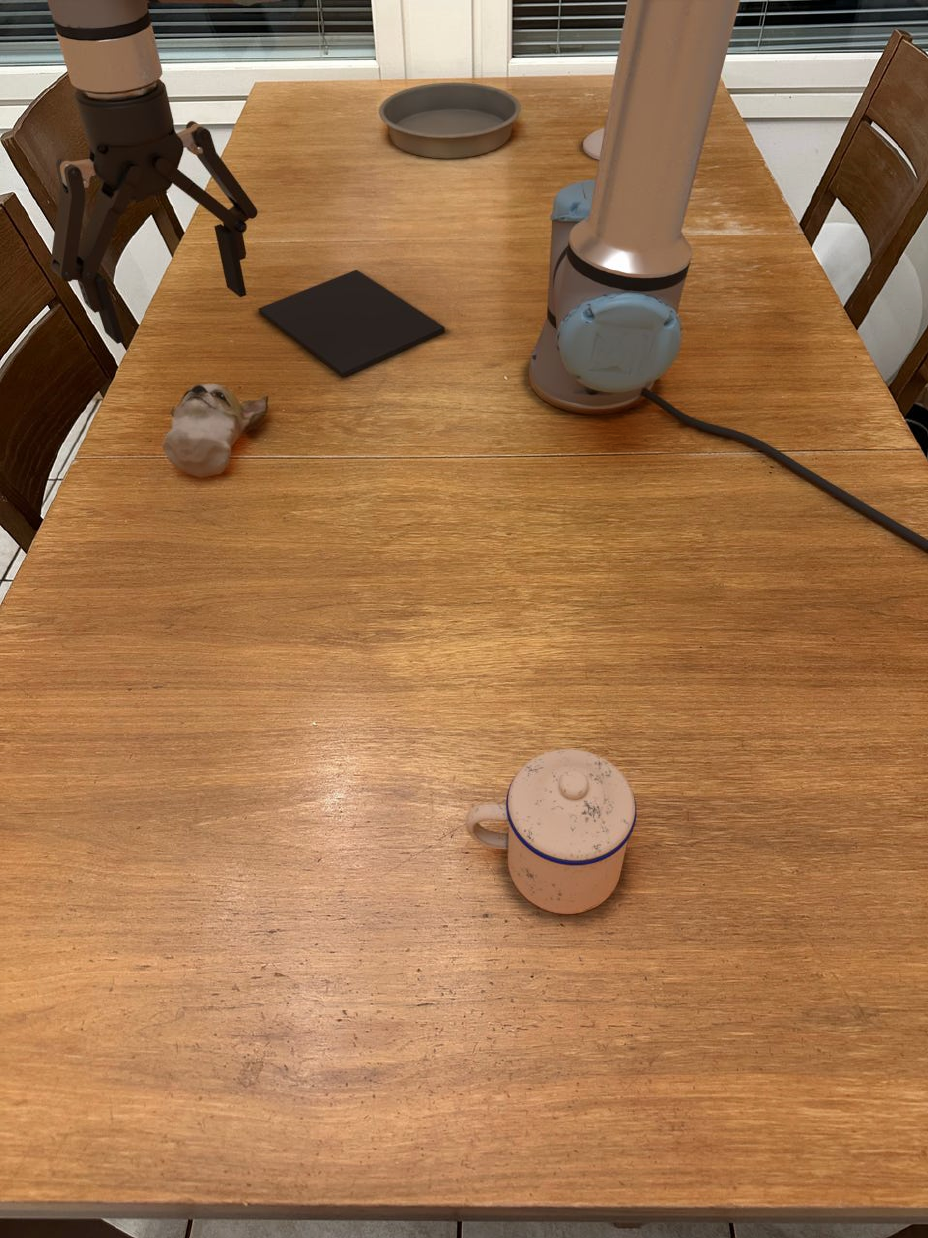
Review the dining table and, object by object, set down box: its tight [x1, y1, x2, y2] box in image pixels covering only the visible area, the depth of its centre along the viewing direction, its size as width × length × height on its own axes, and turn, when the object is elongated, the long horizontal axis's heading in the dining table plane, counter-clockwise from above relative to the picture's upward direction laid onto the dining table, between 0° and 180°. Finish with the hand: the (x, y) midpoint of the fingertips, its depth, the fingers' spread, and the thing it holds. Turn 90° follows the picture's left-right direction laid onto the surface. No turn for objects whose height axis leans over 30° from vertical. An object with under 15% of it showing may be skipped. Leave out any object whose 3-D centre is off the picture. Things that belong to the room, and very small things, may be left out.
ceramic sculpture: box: [161, 382, 269, 478], centre depth 105 cm, size 11×9×15 cm
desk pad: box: [258, 269, 445, 379], centre depth 125 cm, size 20×16×1 cm
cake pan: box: [378, 82, 522, 159], centre depth 165 cm, size 25×25×4 cm
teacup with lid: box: [465, 748, 637, 915], centre depth 68 cm, size 12×9×12 cm
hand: (177, 313), depth 95 cm, fingers open, 13 cm apart
